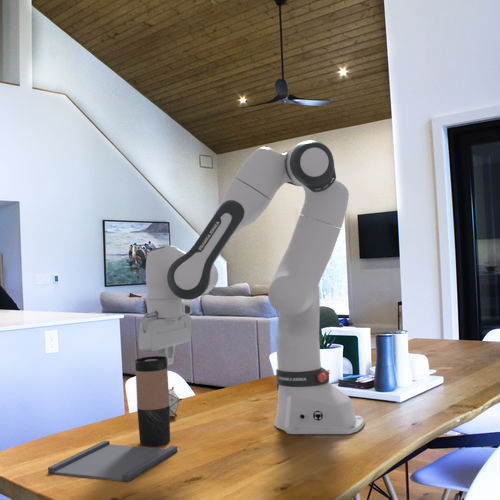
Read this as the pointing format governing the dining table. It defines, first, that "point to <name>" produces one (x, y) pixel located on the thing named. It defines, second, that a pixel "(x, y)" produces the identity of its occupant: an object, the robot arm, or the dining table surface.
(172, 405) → the game die
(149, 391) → the travel mug
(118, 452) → the tray
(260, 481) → the dining table surface
